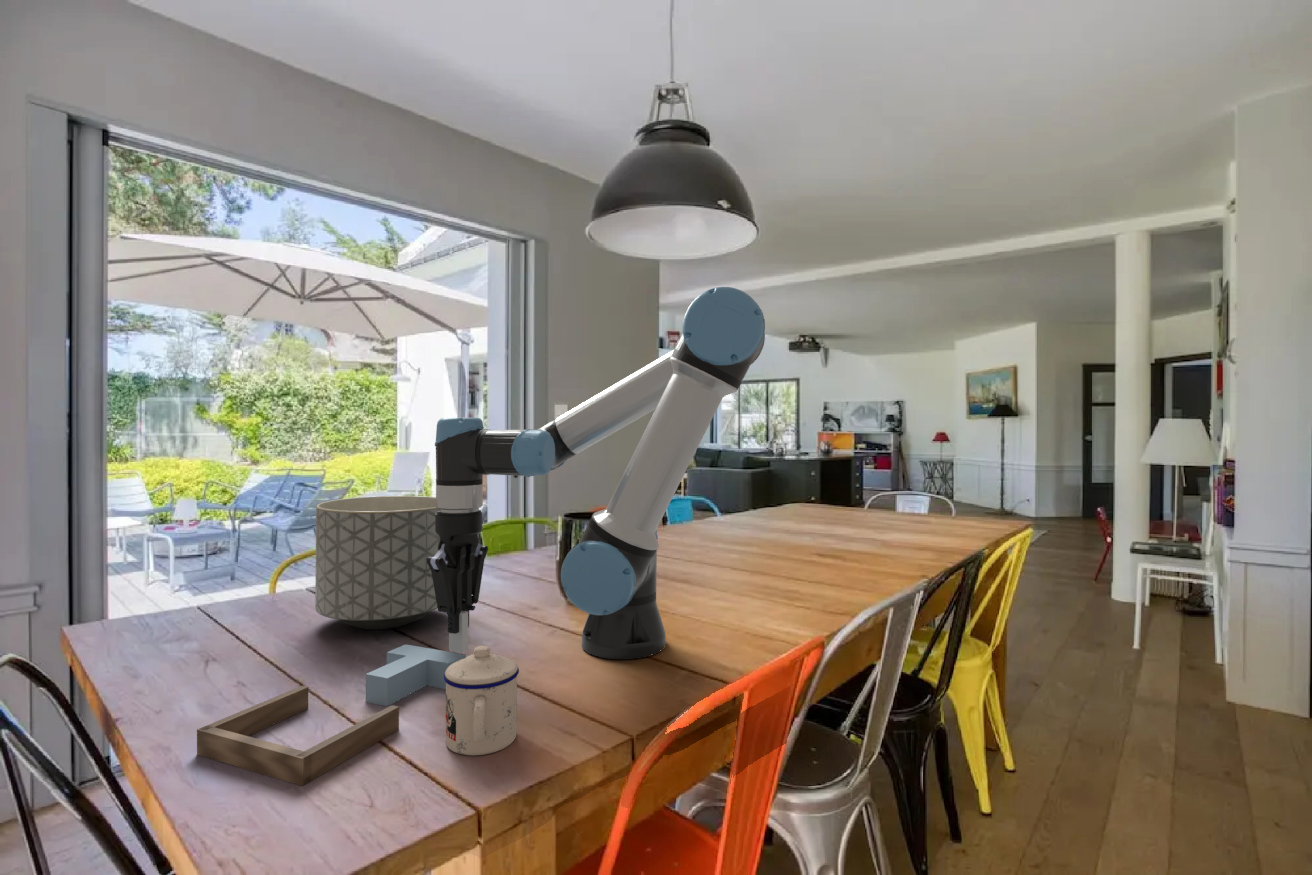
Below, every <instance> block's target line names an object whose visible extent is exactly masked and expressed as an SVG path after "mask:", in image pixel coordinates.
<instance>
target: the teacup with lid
mask: <svg viewBox="0 0 1312 875" xmlns="http://www.w3.org/2000/svg"><path fill="white" fill-rule="evenodd" d="M519 673H520V670H519V665H518V664H517V662H516V661H515V660H514V659H513V658H510V657H507V656H503V655H498V654H496V653H494V652H491V648H490V647H489V646H487V645H478V646H476V647H475V648H474V649H473V653H472V654H470V655H468V656H466V658H465V659H461V660H459V661H456V662H454V663H453V664H451V665H450V666H449V667H448V668H447V670H446V672H445V675H444V680H445V682H446V689H445V744H446V747H447V748H448V749H449V750H450V751H451V752H454V753H456V754H459V755H462V756H464V755H465V756H483V755H489V754H492V753H493V754H494V753H496V752H499V751H501V750H503V749H505V748H507V747H508V746H510V745H512V743H514V741H515V739H516V737H517V731H518V730H517V727H518V726H517V725H518V720H517V719H518V714H517V713H518V710H517V709H518V704H517V702H518V699H517V698H518V690H517V689H518V675H519Z"/></svg>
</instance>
